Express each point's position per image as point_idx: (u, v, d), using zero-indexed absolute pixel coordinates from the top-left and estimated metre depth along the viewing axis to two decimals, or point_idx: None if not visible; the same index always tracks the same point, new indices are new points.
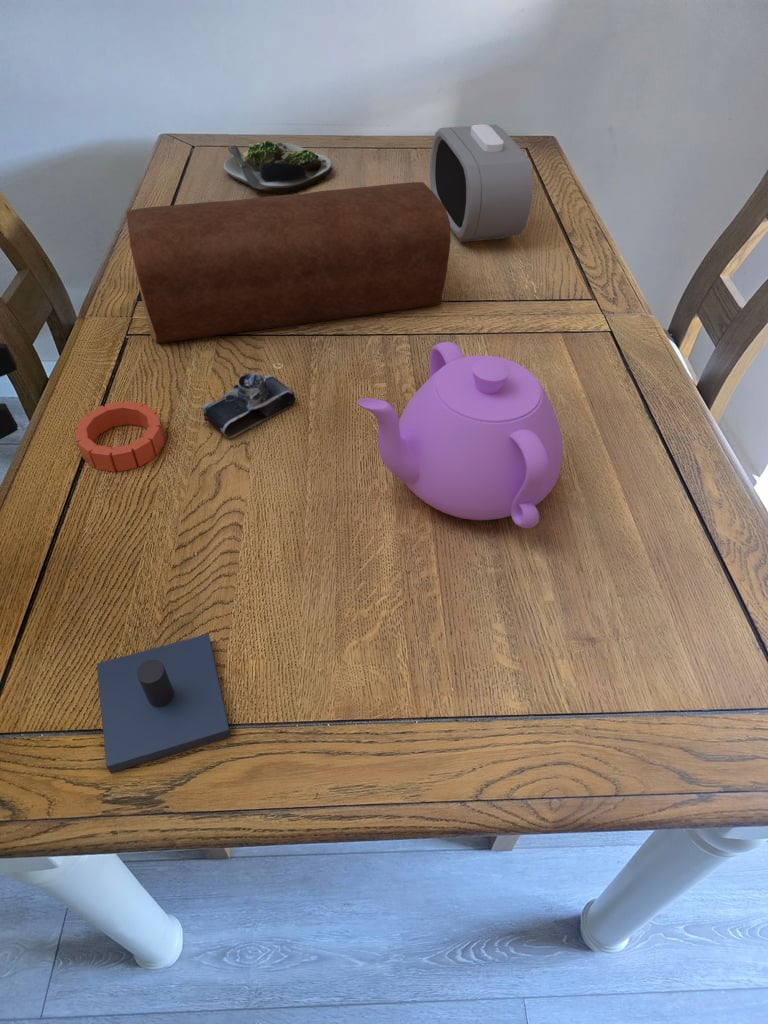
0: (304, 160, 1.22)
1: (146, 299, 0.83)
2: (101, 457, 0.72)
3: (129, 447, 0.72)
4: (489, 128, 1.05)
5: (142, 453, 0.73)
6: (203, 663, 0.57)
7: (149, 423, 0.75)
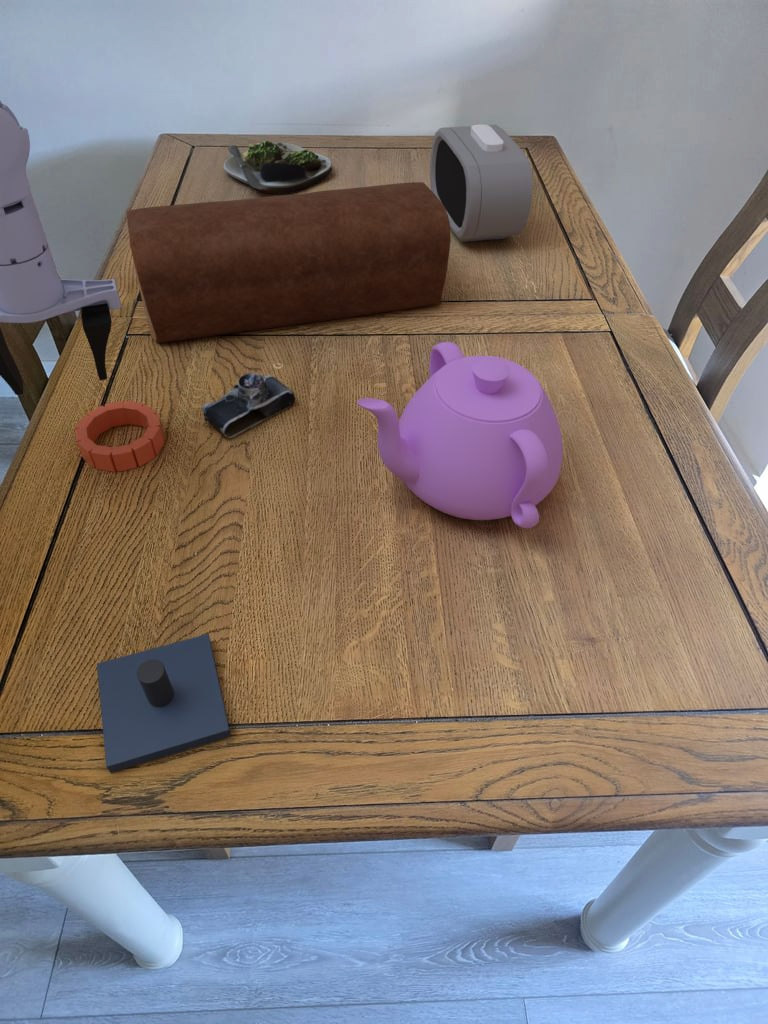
0: (304, 160, 1.22)
1: (146, 299, 0.83)
2: (101, 457, 0.72)
3: (129, 447, 0.72)
4: (489, 128, 1.05)
5: (142, 453, 0.73)
6: (203, 663, 0.57)
7: (149, 423, 0.75)
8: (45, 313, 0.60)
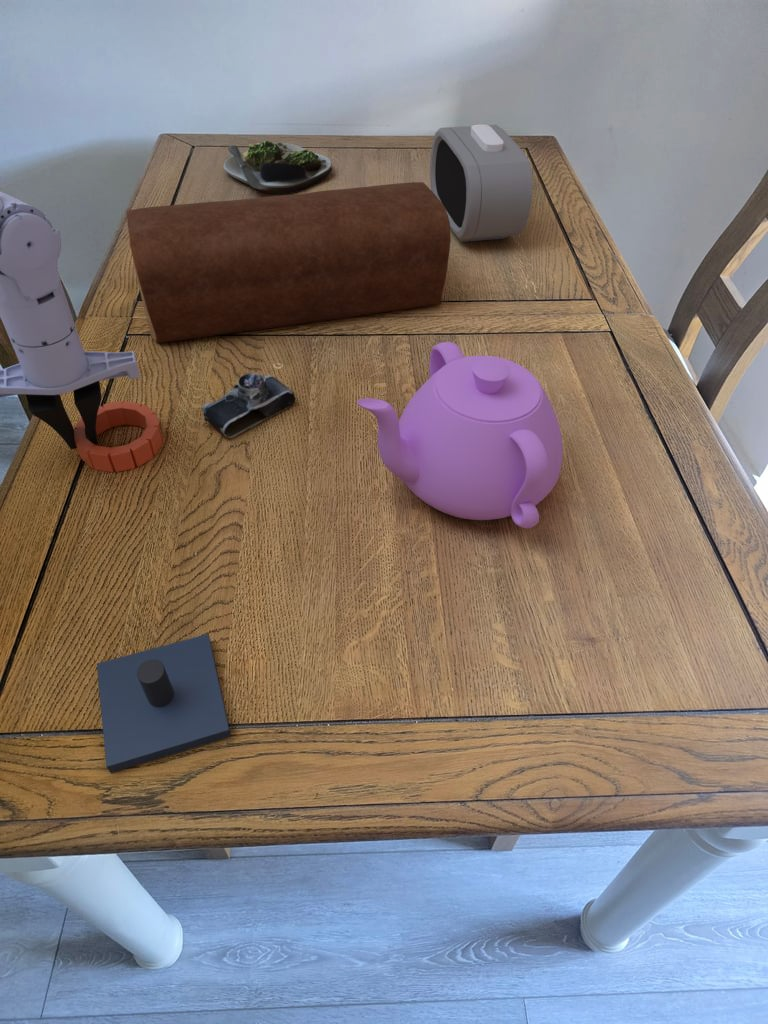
0: (304, 160, 1.22)
1: (146, 299, 0.83)
2: (100, 458, 0.72)
3: (127, 447, 0.72)
4: (489, 128, 1.05)
5: (140, 453, 0.73)
6: (203, 663, 0.57)
7: (147, 423, 0.75)
8: (71, 386, 0.66)
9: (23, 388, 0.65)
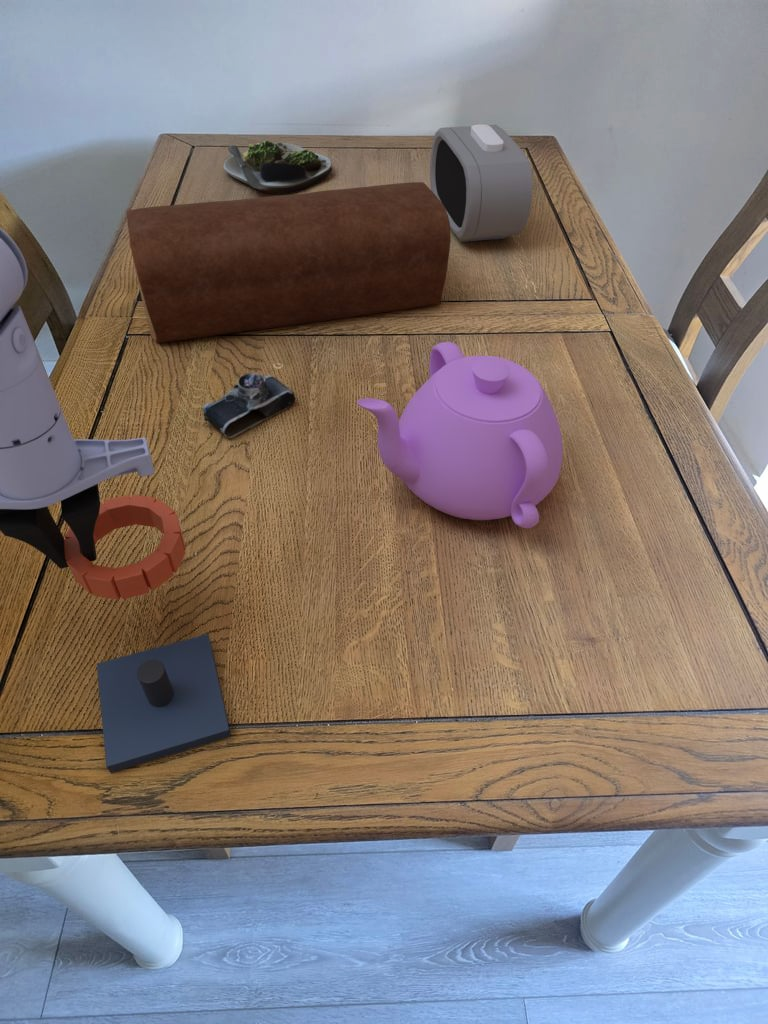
0: (304, 160, 1.22)
1: (146, 299, 0.83)
2: (100, 583, 0.52)
3: (138, 567, 0.52)
4: (489, 128, 1.05)
5: (156, 574, 0.53)
6: (203, 663, 0.57)
7: (165, 529, 0.55)
8: (57, 496, 0.46)
9: None
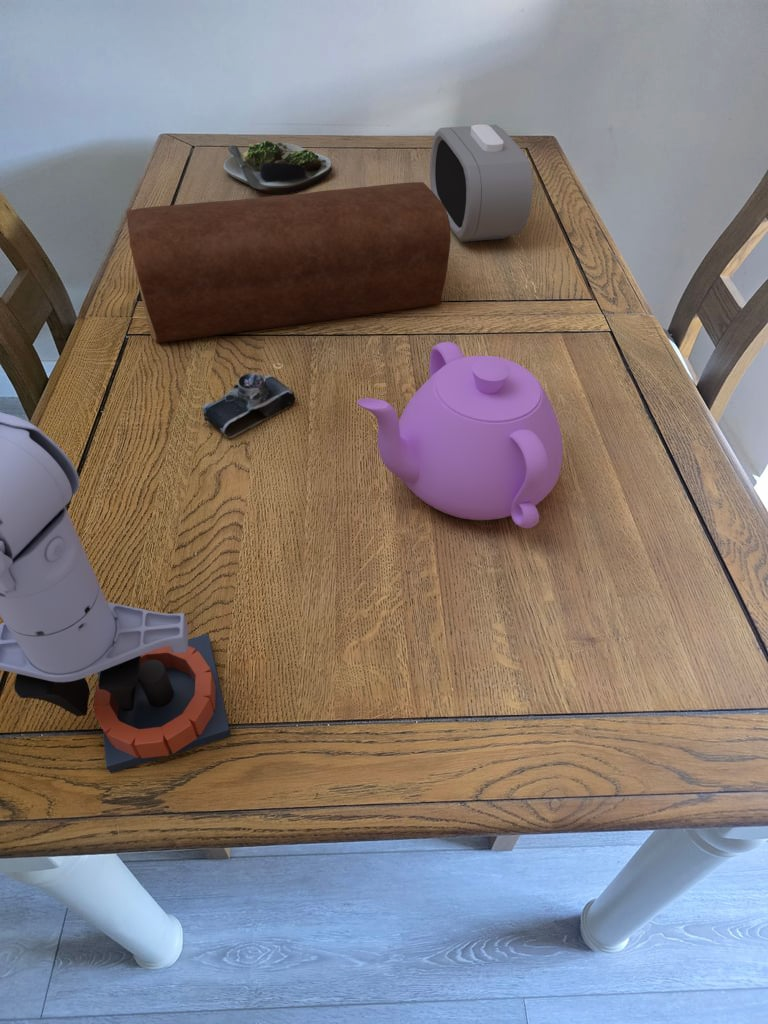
0: (304, 160, 1.22)
1: (146, 299, 0.83)
2: (121, 743, 0.51)
3: (160, 733, 0.51)
4: (489, 128, 1.05)
5: (178, 740, 0.51)
6: None
7: (196, 689, 0.53)
8: (84, 673, 0.45)
9: (16, 668, 0.45)
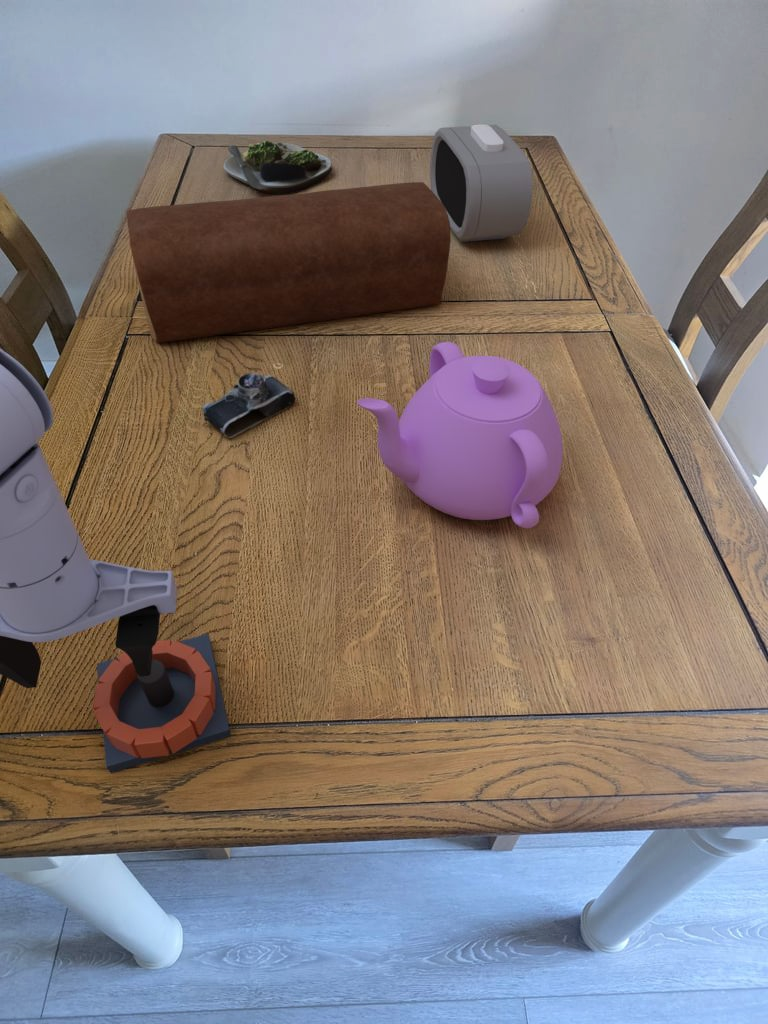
0: (304, 160, 1.22)
1: (146, 299, 0.83)
2: (121, 743, 0.51)
3: (160, 733, 0.51)
4: (489, 128, 1.05)
5: (178, 740, 0.51)
6: None
7: (196, 689, 0.53)
8: (62, 632, 0.42)
9: None
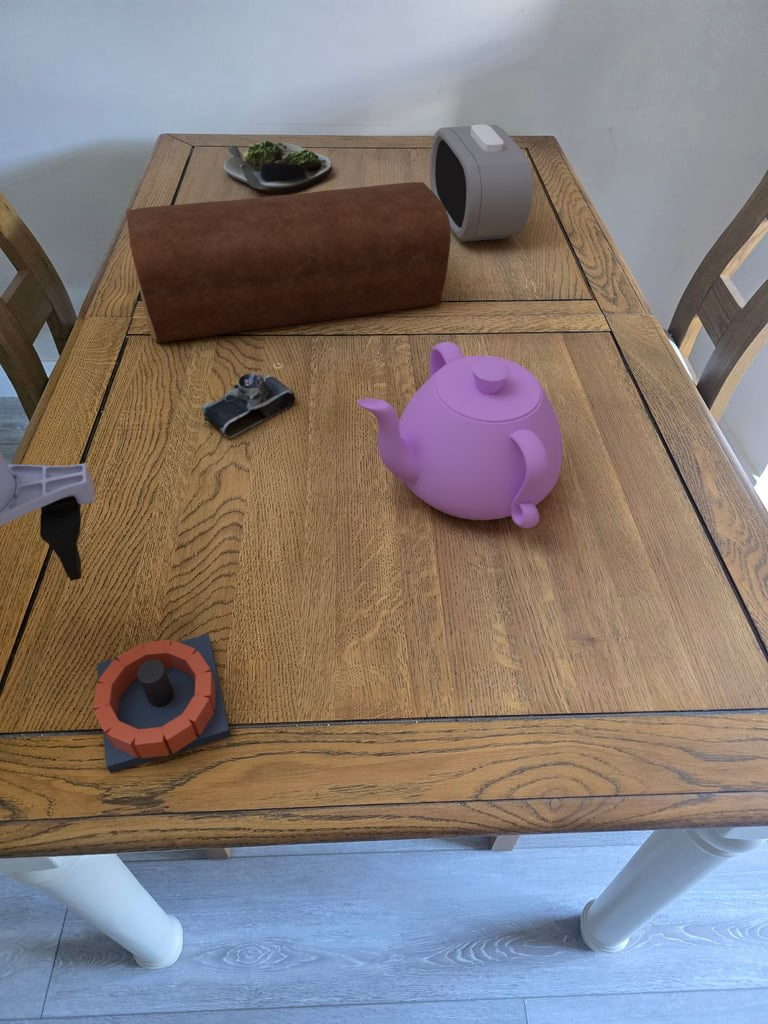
0: (304, 160, 1.22)
1: (146, 299, 0.83)
2: (121, 743, 0.51)
3: (160, 733, 0.51)
4: (489, 128, 1.05)
5: (178, 740, 0.51)
6: None
7: (196, 689, 0.53)
8: None
9: None
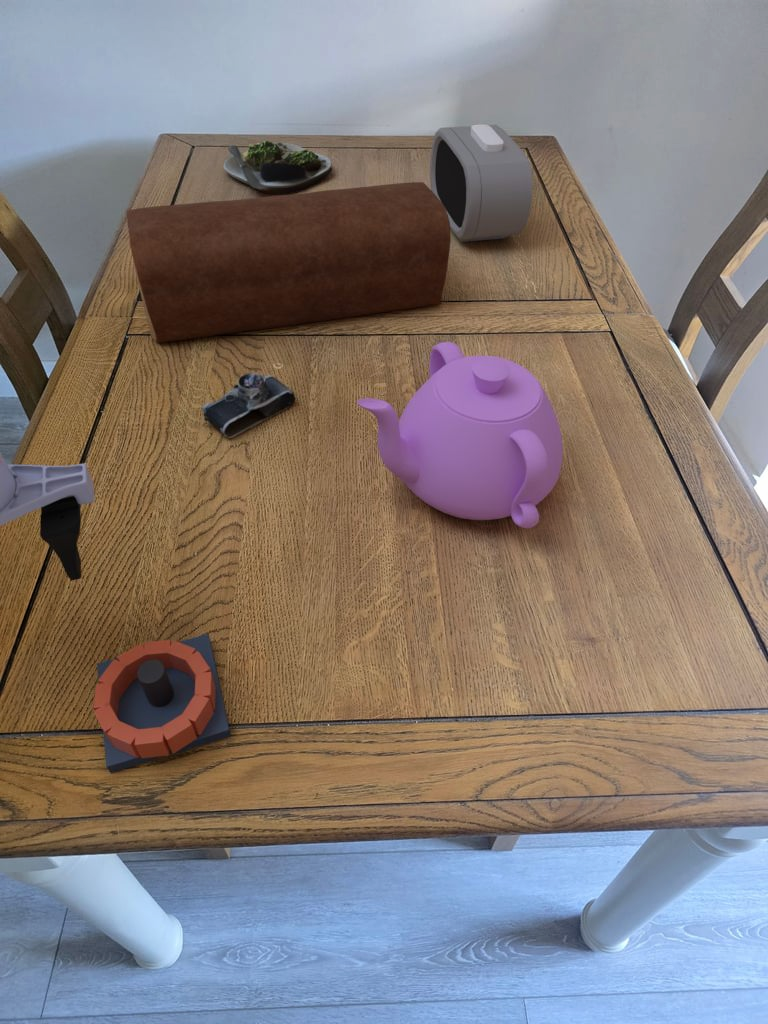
0: (304, 160, 1.22)
1: (146, 299, 0.83)
2: (121, 743, 0.51)
3: (160, 733, 0.51)
4: (489, 128, 1.05)
5: (178, 740, 0.51)
6: None
7: (196, 689, 0.53)
8: None
9: None
